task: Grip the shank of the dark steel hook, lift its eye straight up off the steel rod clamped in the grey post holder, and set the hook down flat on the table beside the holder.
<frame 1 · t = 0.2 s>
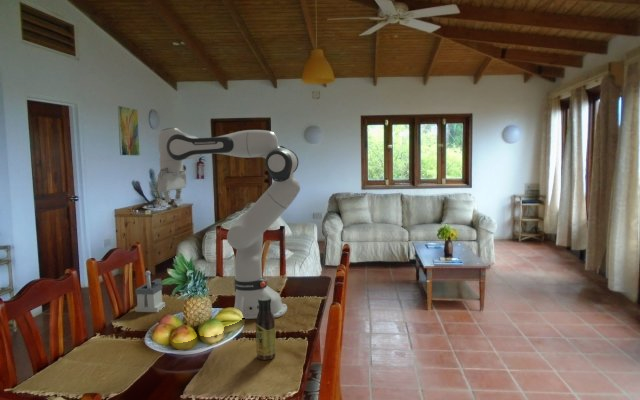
hand: (173, 200, 190), 47 cm above the table, tool pointing down, fingers open, 8 cm apart
steel hook: (149, 291, 196), point 8 cm above the table, touching grey post holder
sauce bottle: (266, 357, 148), on the table
grey post holder: (150, 309, 197), on the table
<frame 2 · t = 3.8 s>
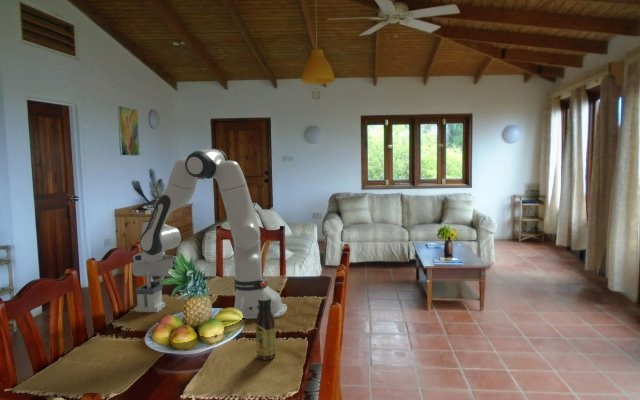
hand: (156, 285, 203), 9 cm above the table, tool pointing down, fingers closed on steel hook, 2 cm apart
steel hook: (149, 291, 196), point 8 cm above the table, touching grey post holder, gripper
everything else where it was.
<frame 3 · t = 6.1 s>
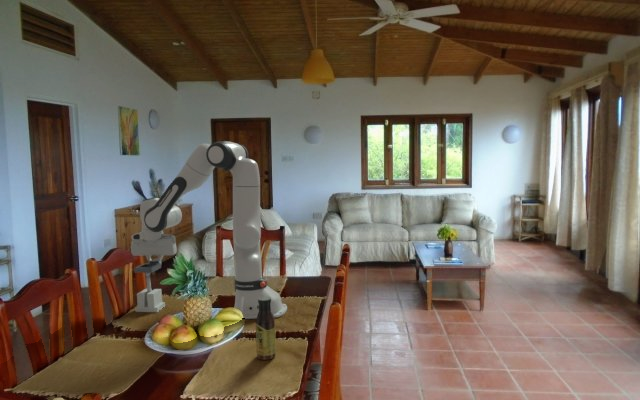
hand: (155, 264, 201), 18 cm above the table, tool pointing down, fingers closed on steel hook
steel hook: (147, 270, 195), point 17 cm above the table, touching gripper
everything else where it was.
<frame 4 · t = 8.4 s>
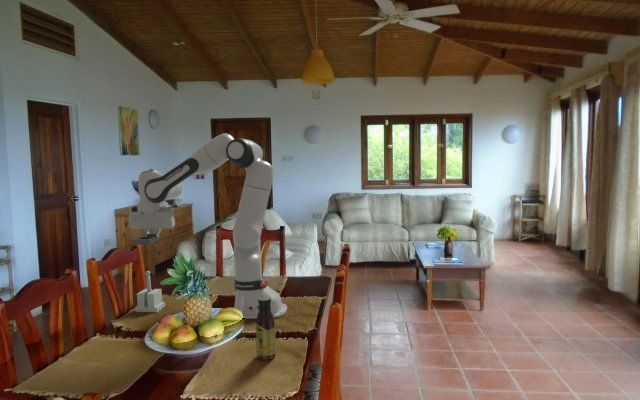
hand: (153, 238, 200), 30 cm above the table, tool pointing down, fingers closed on steel hook
steel hook: (145, 242, 194), point 29 cm above the table, touching gripper
everything else where it was.
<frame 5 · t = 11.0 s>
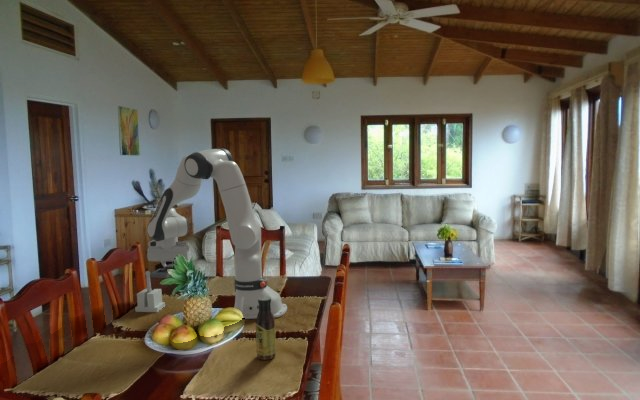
hand: (169, 270, 216), 12 cm above the table, tool pointing down, fingers closed on steel hook
steel hook: (163, 275, 209), point 11 cm above the table, touching gripper
everything else where it was.
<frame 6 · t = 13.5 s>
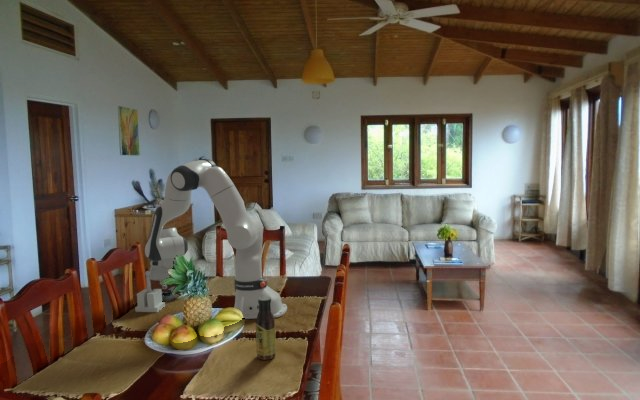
hand: (172, 288, 217), 3 cm above the table, tool pointing down, fingers open, 6 cm apart
steel hook: (166, 298, 211), on the table
everything else where it was.
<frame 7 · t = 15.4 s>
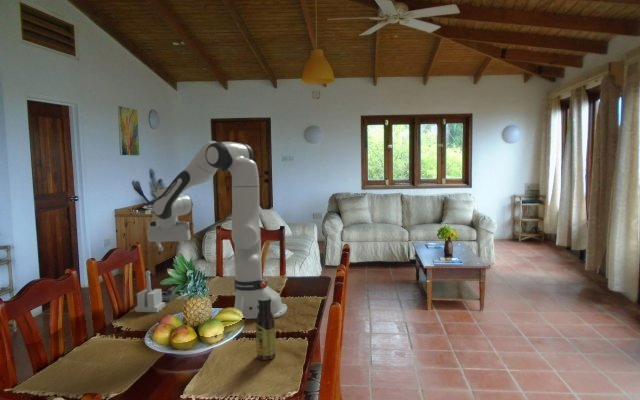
hand: (170, 250, 214), 21 cm above the table, tool pointing down, fingers open, 8 cm apart
nothing on the table moved.
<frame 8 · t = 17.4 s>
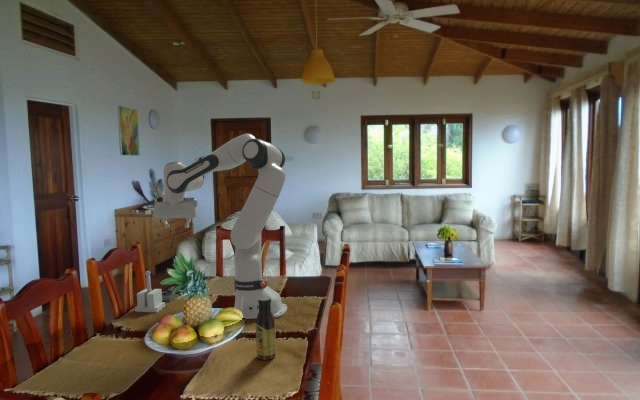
hand: (177, 227, 208), 33 cm above the table, tool pointing down, fingers open, 8 cm apart
nothing on the table moved.
at the end: steel hook inside the target area (0.5 cm from its centre), on the table; steel hook touching table; the gripper is holding nothing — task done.
